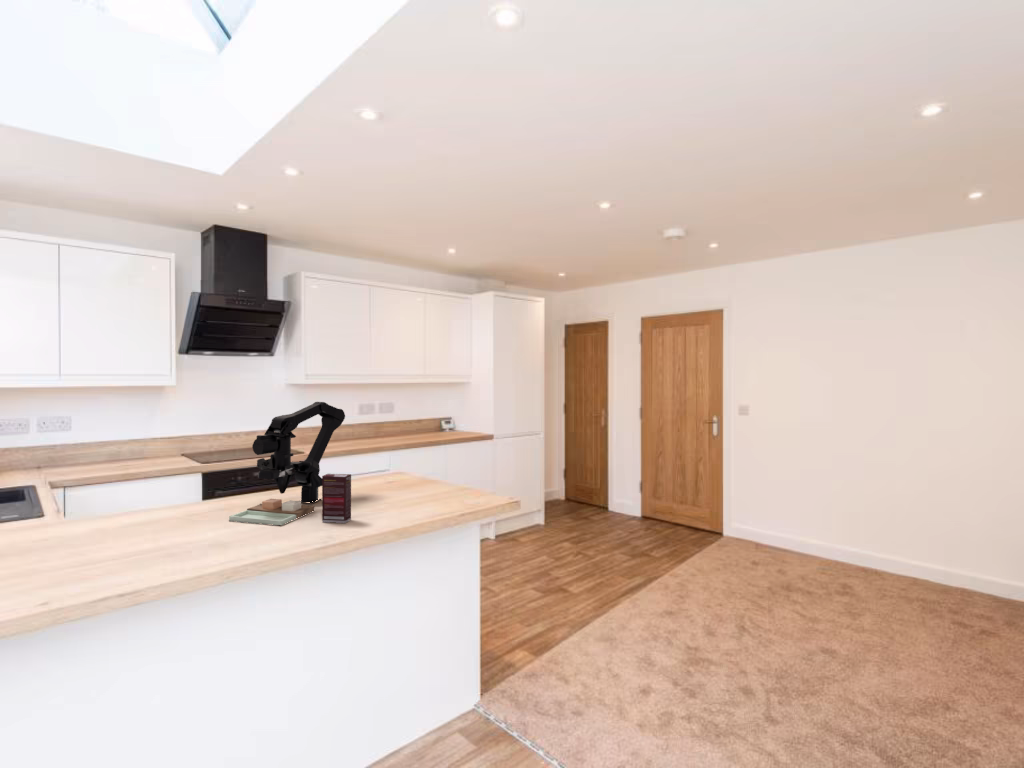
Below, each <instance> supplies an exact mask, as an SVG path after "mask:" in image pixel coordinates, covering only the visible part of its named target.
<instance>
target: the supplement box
mask: <svg viewBox="0 0 1024 768" xmlns="http://www.w3.org/2000/svg"><path fill="white" fill-rule="evenodd" d="M321 478H322V486H321V491H322V492H321V495H322V497H321V499H322V500H321V501H322V503H321V510H322V511H321V519H322V520H321V521H322V523H330V522H336V523H337V524H347V523H348V522H350V521H351V520H352V474H350V473H347V474H346V473H327V474H324V475H322V476H321ZM349 520H350V521H349ZM346 522H347V523H346ZM336 523H335V524H336Z"/></svg>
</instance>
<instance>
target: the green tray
mask: <svg viewBox="0 0 1024 768" xmlns="http://www.w3.org/2000/svg"><path fill="white" fill-rule="evenodd" d="M228 518H229V519H228V521H229V522H234V521H237V522H236V523H244V522H248V524H254V523H262V524H261V525H264V524H273V525H272V526H275V525H282V526H284V525H283V524H285V523H287V522H289V521H291V520H294V519H296V515H293V514H282V513H272V512H261V511H250V510H247V509H246V510H243V511H239V512H238V513H235V514H232V515H230V516H229V517H228ZM296 520H297V519H296ZM294 521H295V520H294ZM289 523H290V522H289ZM287 524H288V523H287ZM285 525H286V524H285Z"/></svg>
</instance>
